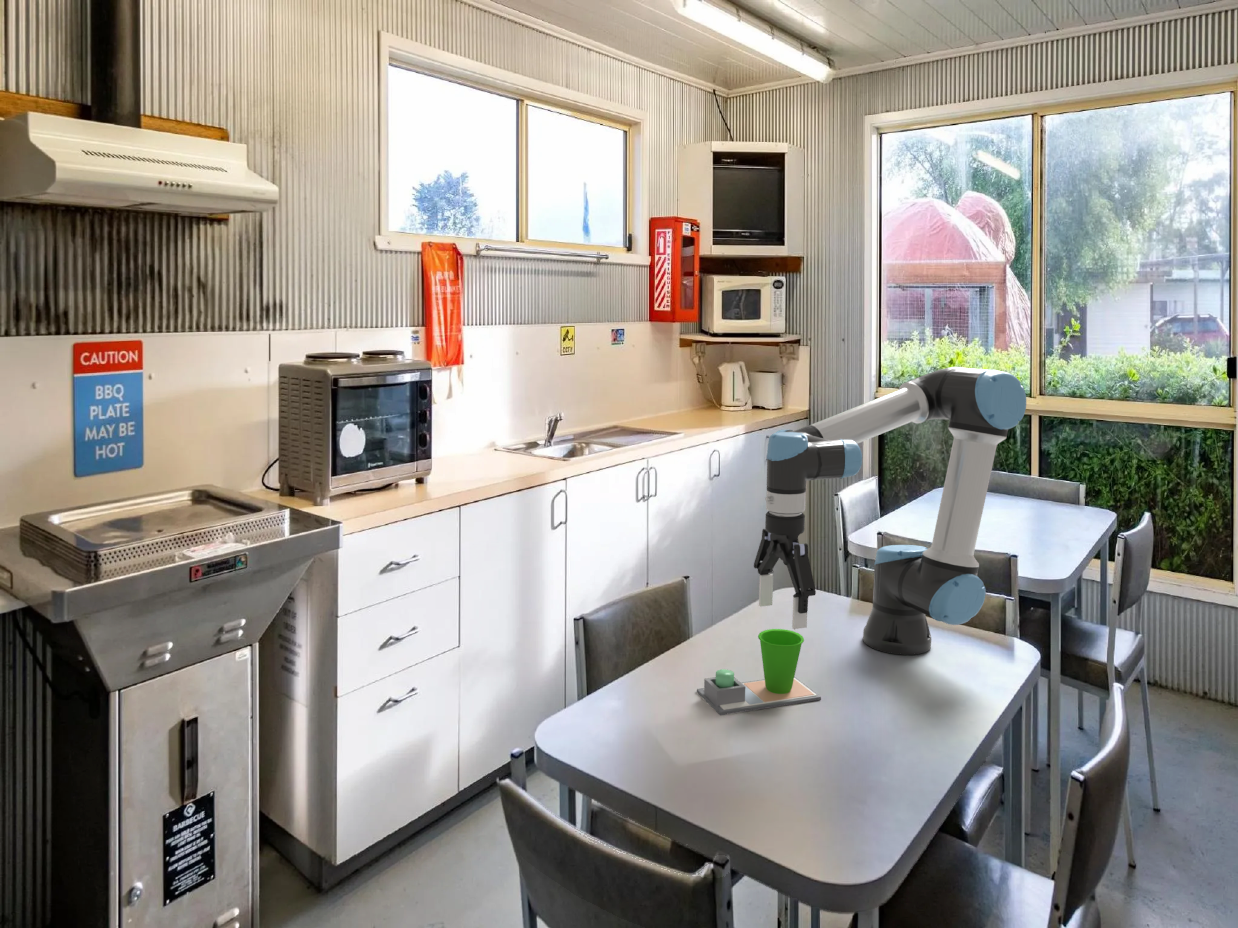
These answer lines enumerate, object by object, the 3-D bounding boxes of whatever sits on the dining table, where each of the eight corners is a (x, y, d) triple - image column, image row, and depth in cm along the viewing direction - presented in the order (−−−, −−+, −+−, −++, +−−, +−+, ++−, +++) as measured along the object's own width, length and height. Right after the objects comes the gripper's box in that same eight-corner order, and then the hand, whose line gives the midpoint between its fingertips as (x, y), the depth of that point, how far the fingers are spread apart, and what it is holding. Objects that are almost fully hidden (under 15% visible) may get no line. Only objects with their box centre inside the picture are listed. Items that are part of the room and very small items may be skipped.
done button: (728, 682, 177) (729, 668, 177) (736, 689, 174) (737, 675, 173) (712, 684, 176) (712, 670, 176) (720, 692, 173) (720, 677, 172)
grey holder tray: (792, 677, 186) (793, 660, 186) (820, 699, 176) (821, 681, 176) (696, 691, 179) (697, 673, 179) (720, 715, 169) (720, 696, 169)
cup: (801, 700, 174) (804, 647, 172) (754, 695, 176) (757, 643, 174) (801, 681, 183) (803, 630, 181) (756, 677, 184) (758, 627, 182)
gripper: (739, 500, 183) (736, 598, 187) (801, 528, 160) (797, 640, 164) (771, 497, 186) (768, 594, 189) (837, 525, 162) (832, 635, 166)
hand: (781, 616), depth 177 cm, fingers open, 13 cm apart
